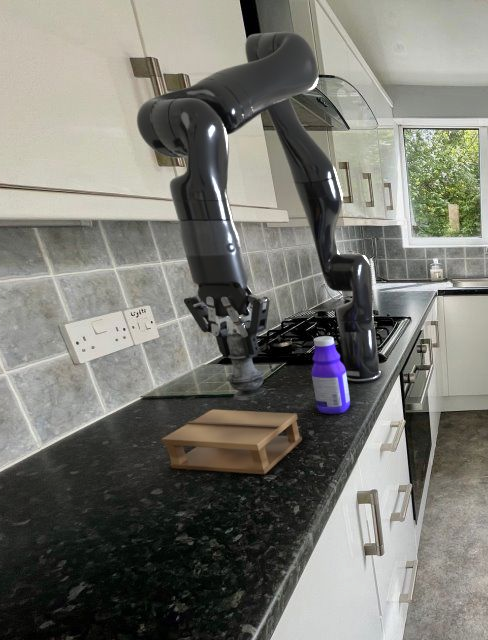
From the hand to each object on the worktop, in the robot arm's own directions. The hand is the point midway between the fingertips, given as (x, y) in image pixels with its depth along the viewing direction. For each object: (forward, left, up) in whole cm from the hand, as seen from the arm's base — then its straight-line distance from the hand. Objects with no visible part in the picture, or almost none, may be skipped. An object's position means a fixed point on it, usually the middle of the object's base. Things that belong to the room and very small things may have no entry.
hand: (240, 355), depth 70 cm
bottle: (-20, +4, -20) cm, 28 cm away
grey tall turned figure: (0, 0, -7) cm, 7 cm away
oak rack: (0, -5, -20) cm, 20 cm away
